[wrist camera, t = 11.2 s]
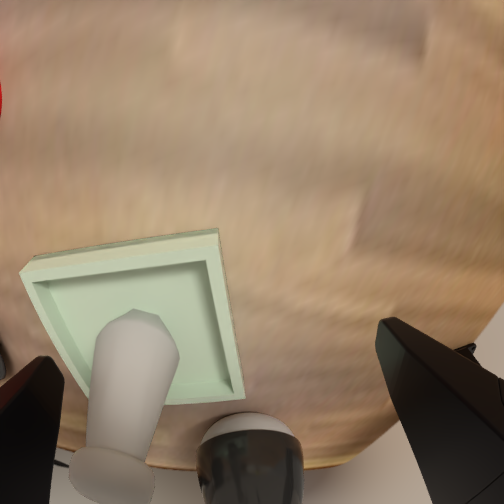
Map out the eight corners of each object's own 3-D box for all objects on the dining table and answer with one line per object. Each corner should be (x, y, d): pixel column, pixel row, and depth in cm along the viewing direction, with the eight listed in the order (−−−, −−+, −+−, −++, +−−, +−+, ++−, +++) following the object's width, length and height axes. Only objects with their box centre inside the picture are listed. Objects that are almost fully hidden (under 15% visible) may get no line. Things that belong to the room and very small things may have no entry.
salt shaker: (189, 356, 23) (183, 521, 12) (121, 361, 23) (89, 511, 11) (169, 294, 20) (140, 485, 9) (93, 303, 20) (27, 467, 9)
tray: (243, 376, 26) (245, 398, 24) (97, 385, 25) (92, 404, 23) (218, 227, 20) (218, 245, 17) (34, 256, 19) (18, 273, 17)
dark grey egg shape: (210, 452, 32) (216, 567, 19) (183, 405, 27) (179, 557, 14) (297, 439, 32) (322, 555, 19) (291, 389, 27) (327, 543, 14)
